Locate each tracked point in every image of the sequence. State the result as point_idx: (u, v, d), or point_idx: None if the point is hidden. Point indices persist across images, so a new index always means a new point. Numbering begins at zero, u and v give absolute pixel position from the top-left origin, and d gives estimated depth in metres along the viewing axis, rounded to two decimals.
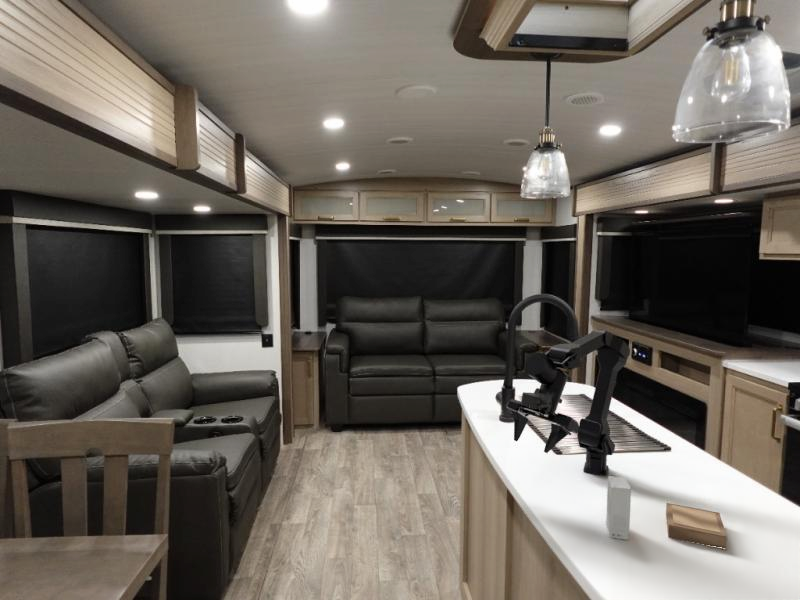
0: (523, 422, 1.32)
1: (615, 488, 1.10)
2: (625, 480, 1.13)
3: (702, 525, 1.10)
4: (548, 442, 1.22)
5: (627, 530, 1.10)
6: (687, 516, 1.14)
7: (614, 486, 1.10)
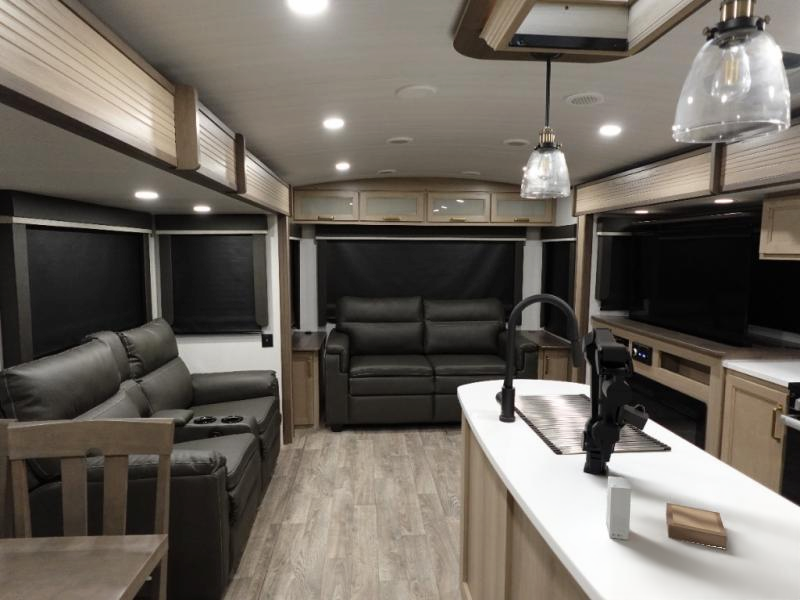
0: None
1: (615, 488, 1.10)
2: (625, 480, 1.13)
3: (702, 525, 1.10)
4: None
5: (627, 530, 1.10)
6: (687, 516, 1.14)
7: (614, 486, 1.10)
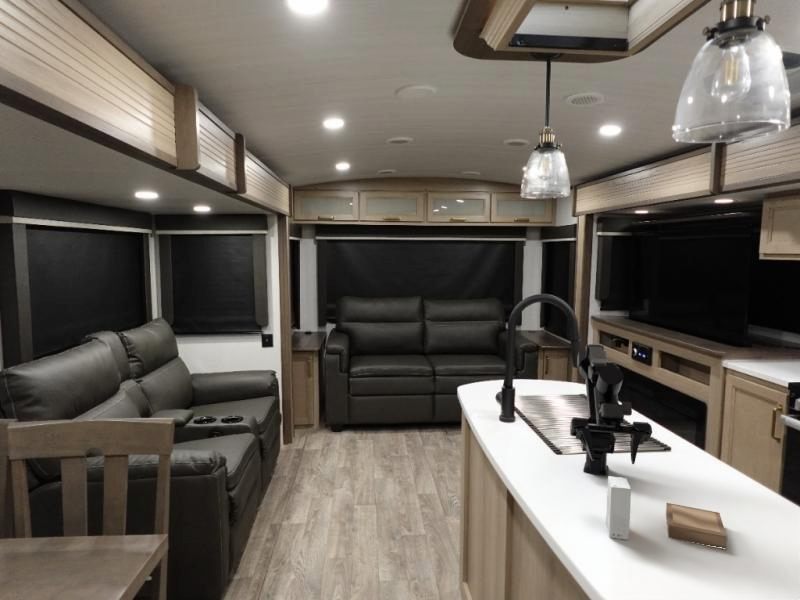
0: None
1: (615, 488, 1.10)
2: (625, 480, 1.13)
3: (702, 525, 1.10)
4: (634, 452, 1.19)
5: (627, 530, 1.10)
6: (687, 516, 1.14)
7: (614, 486, 1.10)
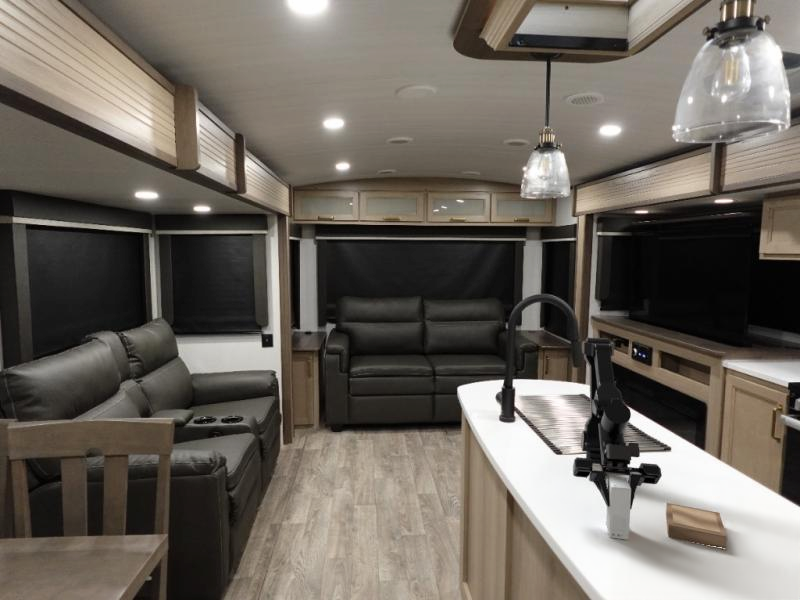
0: None
1: (615, 488, 1.10)
2: (625, 480, 1.13)
3: (702, 525, 1.10)
4: (631, 496, 1.12)
5: (627, 530, 1.10)
6: (687, 516, 1.14)
7: (614, 486, 1.10)
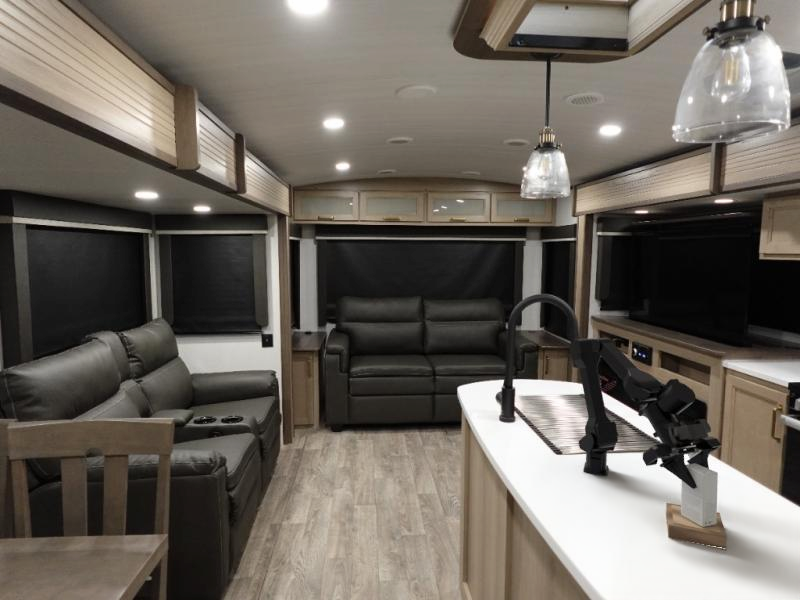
0: None
1: (707, 475, 1.09)
2: (699, 465, 1.13)
3: None
4: None
5: (715, 514, 1.10)
6: None
7: (704, 473, 1.09)
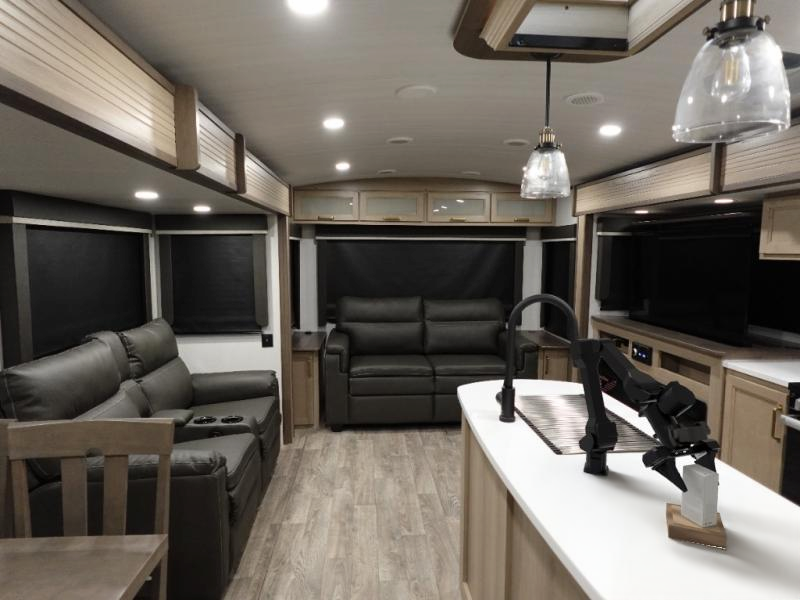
0: None
1: (708, 476, 1.08)
2: (700, 466, 1.13)
3: None
4: None
5: (715, 515, 1.10)
6: None
7: (705, 475, 1.09)
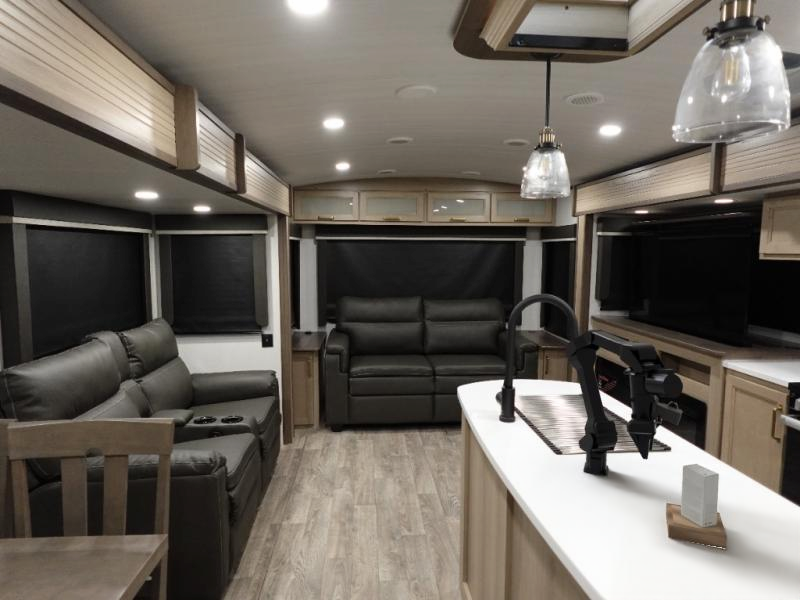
0: None
1: (708, 476, 1.08)
2: (700, 466, 1.13)
3: None
4: None
5: (715, 515, 1.10)
6: None
7: (705, 475, 1.09)
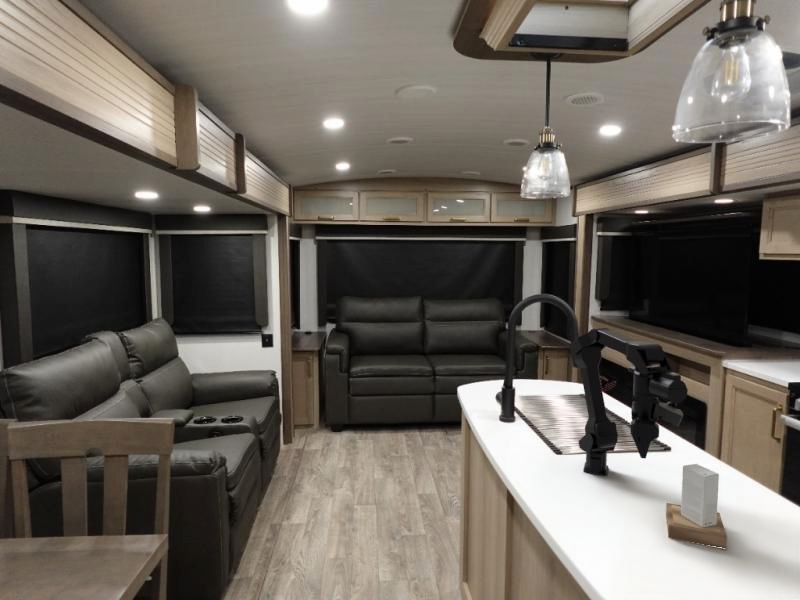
0: None
1: (708, 476, 1.08)
2: (700, 466, 1.13)
3: None
4: None
5: (715, 515, 1.10)
6: None
7: (705, 475, 1.09)
